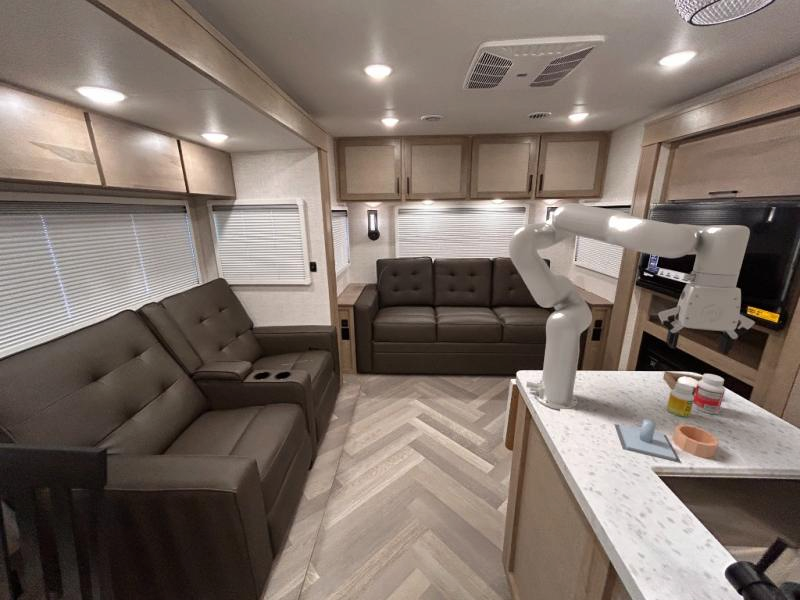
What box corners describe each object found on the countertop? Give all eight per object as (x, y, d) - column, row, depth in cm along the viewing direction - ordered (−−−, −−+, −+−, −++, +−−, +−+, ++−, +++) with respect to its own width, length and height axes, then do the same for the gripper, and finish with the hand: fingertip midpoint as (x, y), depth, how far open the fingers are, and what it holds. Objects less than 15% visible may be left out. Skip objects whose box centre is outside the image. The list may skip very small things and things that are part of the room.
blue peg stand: (627, 448, 80) (631, 428, 79) (618, 425, 89) (622, 407, 88) (675, 460, 76) (681, 439, 75) (662, 435, 85) (666, 416, 84)
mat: (622, 451, 81) (622, 449, 80) (613, 426, 90) (614, 424, 90) (681, 466, 76) (681, 463, 76) (665, 437, 86) (665, 435, 85)
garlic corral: (674, 392, 107) (675, 385, 106) (663, 378, 117) (664, 371, 116) (715, 400, 103) (718, 392, 102) (700, 384, 112) (703, 376, 112)
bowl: (679, 454, 79) (682, 440, 78) (667, 435, 87) (671, 421, 85) (720, 464, 76) (725, 449, 75) (705, 443, 83) (709, 429, 82)
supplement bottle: (669, 407, 99) (676, 380, 97) (691, 415, 95) (699, 387, 92) (663, 412, 96) (669, 385, 94) (685, 422, 92) (693, 393, 90)
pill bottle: (701, 402, 102) (709, 371, 99) (723, 413, 96) (733, 381, 93) (686, 404, 101) (694, 373, 98) (708, 415, 95) (717, 383, 92)
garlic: (673, 381, 115) (675, 372, 114) (697, 386, 112) (700, 376, 111) (678, 391, 109) (680, 381, 108) (704, 396, 105) (706, 386, 104)
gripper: (672, 281, 71) (657, 350, 76) (776, 286, 65) (754, 361, 69) (660, 275, 78) (647, 339, 82) (753, 279, 71) (734, 348, 76)
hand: (696, 349), depth 76 cm, fingers open, 9 cm apart
